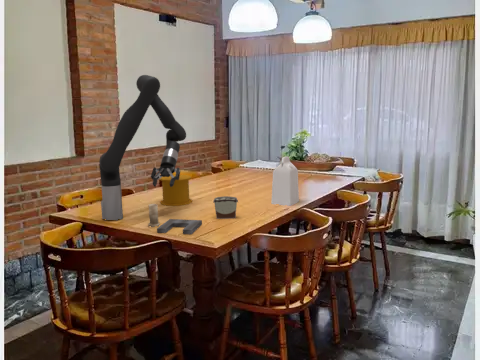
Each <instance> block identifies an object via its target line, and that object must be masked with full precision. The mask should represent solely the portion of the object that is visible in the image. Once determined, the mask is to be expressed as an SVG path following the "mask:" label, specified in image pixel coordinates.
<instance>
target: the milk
mask: <svg viewBox="0 0 480 360" xmlns="http://www.w3.org/2000/svg"><path fill="white" fill-rule="evenodd" d="M271 184H272V186H271V202H270V203H271V205H276V204H279V205H278V206H285V205H287V207H291V206H294V205H295V204H297V203H299V202H300V195H299V194H300V192H299V170H298V168H297V167H296V166H295V165H294V164H293V163H292V162H291V160H290V157H289V156H287V155H286V156H283V157H281V163H279V165H278V166H276V167H275V169H274V170H273V171H272V183H271Z"/></svg>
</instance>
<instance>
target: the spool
mask: <svg viewBox="0 0 480 360" xmlns="http://www.w3.org/2000/svg"><path fill="white" fill-rule="evenodd" d="M173 176H174V177H175V176H176V174H173ZM171 179H172V178H171V176H169V177H161V178H159V179H158V180H160V181H161V186H162V187H161V189H162V200H161V201H160V202H159V203H160V205H162V206H165V205H166V207H180V206H187V205H189V204H193V200H192V199H191V198H190V184H189V183H190V180H191V179H192V176H191V175H187V174H180V177H179V180H175V182H174V185H173V186H172V187H170V181H171Z"/></svg>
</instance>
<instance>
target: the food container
mask: <svg viewBox="0 0 480 360" xmlns="http://www.w3.org/2000/svg"><path fill="white" fill-rule="evenodd" d="M237 203H239V199H238V198H237V197H236V196H230V195H229V196H217V197H214V199H213V202H212V204H214V209H215V217H216V220H217V219H219V220H220V219H221V220H222V219H224V220H225V219H236V218H237V217H236V214H237Z"/></svg>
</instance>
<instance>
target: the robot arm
mask: <svg viewBox="0 0 480 360" xmlns="http://www.w3.org/2000/svg"><path fill="white" fill-rule="evenodd" d="M135 83H136V87H137V89H138V91H139V95H138V96H137V99H136V100H135V101H134V102H133V104H131V105H130V106H129V107H128V108H127V109H126V110H125V111H124V113H123V115H122V116H121V118H120V120H119V122H118V124H117V127H116V130H115V133H114V137H113V140H112V141H111V144H110V145H109V147H108V149H107V150H106V152H104V153H102V155H101V156H100V158H99V160H98V161H99V174H100V183H101V185H100V186H101V195H102V196H101V197H102V200H100V206H101V207H100V208H101V210H100V211H101V220H102V219H106V220H116V221H119V220H118V219H120V220H123V219H124V212H123V211H124V210H123V197H122V196H123V195H122V194H123V193H122V185H121V183H122V182H121V180H122V179H121V175H120V174H121V173H120V165H121V164H122V163H121V162H122V160H123V158H124V156H125V155H124V154H125V153H126V150H127V148H128V147H129V146H130V144H131V142H132V140H133V139H134V137H135V135H136V133H137V131H138V130H139V128H140V125H141V123H142V121H143V119H144V117H145V115H146V113H147V111H148V109H149V107H150V106H151V108H152V109H153V110H154V113H155V114H156V116H157V117H158V119H159V121H160V123H161V124H162V126H163V128H165V129H167V132H166V134H165V139H166V143H165V145H166V146H165V148H164V149H165V150H164V152H163V155H162V158H161V162H160V166H159V168H156V167H152V168H153V169H152V171H151V174H150V178H151V179H152V186H153V187H155V188H156V187H157V184H158V180H159V178H161V177H169V176H171V178H172V179H171V181H170V187H172V186H173V185H174V182H175V180H179V177H180V175H181V170H180V167H176V166H177V162H178V159H179V158H178V157H179V152H180V147H181V145H180V143H179V142H183V141H184V140H186V139H187V132H186V130H185V129H184V127H183V125H181V124H180V123H179V122H178V121H177V120H176V118H175V117H174V115H173V113H172V111H171V110H170V108H169V107H168V106H167V104H166V103H165V102H164V101H163V100H162V99H161V97H160V96H159V94H158V93H159V91H160V89H161V82H160V80H159V78H157V77H155V76H152V75H147V74H143V75H140V76H138V77H137V80H136V82H135ZM174 173H175V175H176V176H175V177H174V176H173V175H174ZM106 220H105V221H106Z"/></svg>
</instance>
